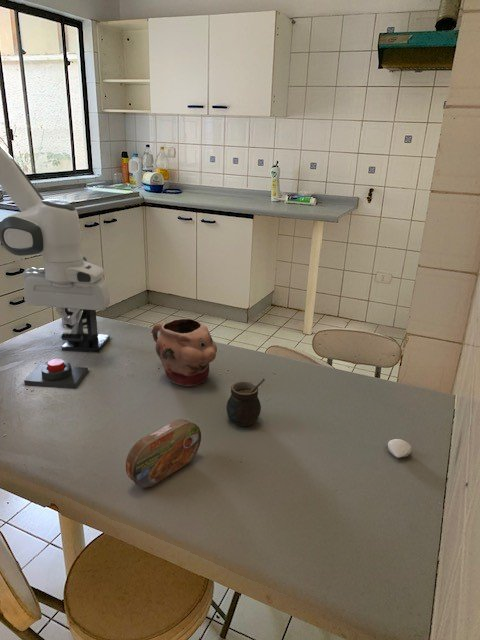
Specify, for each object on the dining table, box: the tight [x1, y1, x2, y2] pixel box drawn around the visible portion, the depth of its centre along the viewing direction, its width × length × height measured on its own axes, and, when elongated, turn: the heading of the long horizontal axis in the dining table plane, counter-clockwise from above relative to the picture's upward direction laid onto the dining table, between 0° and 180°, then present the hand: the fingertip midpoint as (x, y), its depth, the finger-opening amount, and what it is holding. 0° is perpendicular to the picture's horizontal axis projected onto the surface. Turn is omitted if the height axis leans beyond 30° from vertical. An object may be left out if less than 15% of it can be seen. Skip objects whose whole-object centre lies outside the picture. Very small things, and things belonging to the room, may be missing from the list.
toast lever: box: [60, 309, 86, 342], centre depth 121 cm, size 12×5×2 cm
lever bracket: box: [61, 310, 111, 354], centre depth 125 cm, size 9×10×13 cm
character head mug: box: [151, 317, 218, 387], centre depth 111 cm, size 20×12×14 cm, turn 58°
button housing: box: [23, 360, 89, 389], centre depth 109 cm, size 12×8×3 cm, turn 87°
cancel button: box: [46, 358, 65, 372], centre depth 109 cm, size 4×4×2 cm
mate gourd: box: [225, 378, 266, 427], centre depth 95 cm, size 7×8×10 cm
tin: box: [125, 418, 202, 489], centre depth 80 cm, size 15×3×8 cm, turn 137°
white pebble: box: [387, 438, 412, 459], centre depth 88 cm, size 4×5×2 cm
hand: (69, 323), depth 116 cm, fingers closed
